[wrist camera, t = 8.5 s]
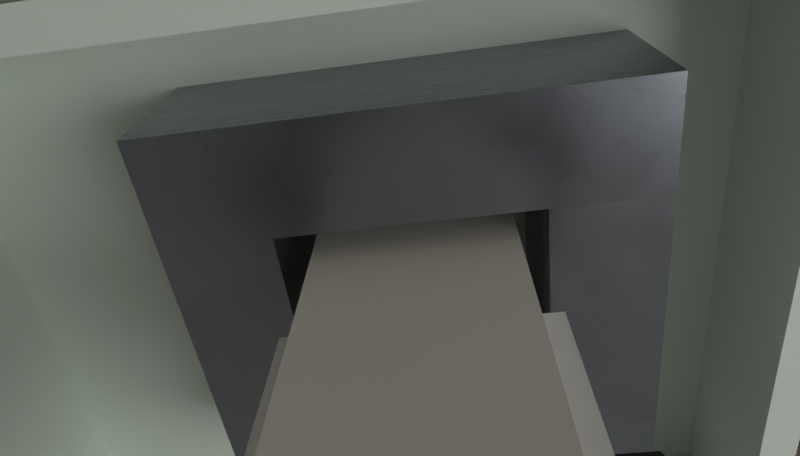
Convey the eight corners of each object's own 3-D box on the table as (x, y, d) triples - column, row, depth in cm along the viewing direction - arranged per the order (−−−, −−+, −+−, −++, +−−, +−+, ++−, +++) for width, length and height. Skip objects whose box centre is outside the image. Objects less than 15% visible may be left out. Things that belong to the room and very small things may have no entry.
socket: (278, 407, 23) (253, 503, 19) (178, 87, 17) (116, 140, 13) (612, 379, 22) (650, 475, 18) (627, 29, 16) (688, 70, 12)
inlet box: (127, 490, 27) (70, 610, 22) (-125, 6, 17) (-312, 48, 13) (703, 447, 25) (766, 569, 20) (789, -128, 15) (944, -133, 11)
